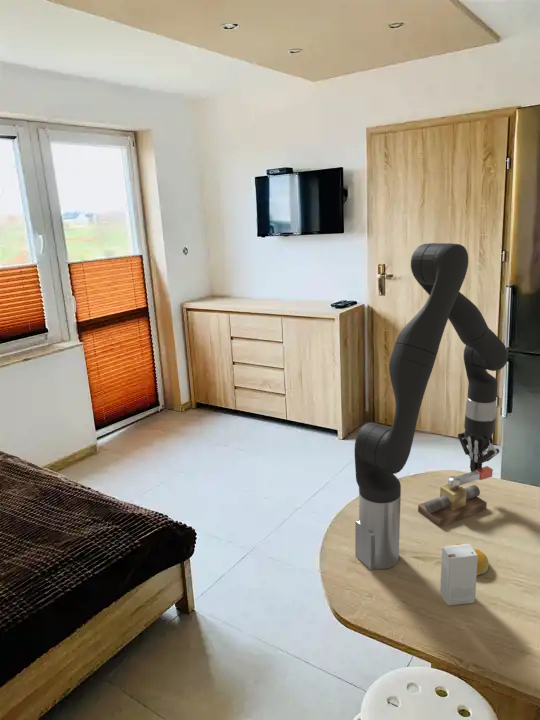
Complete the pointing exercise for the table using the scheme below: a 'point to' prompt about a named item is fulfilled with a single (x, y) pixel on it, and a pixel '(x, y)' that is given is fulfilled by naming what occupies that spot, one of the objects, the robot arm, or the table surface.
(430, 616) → the table surface
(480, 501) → the valve board
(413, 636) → the table surface
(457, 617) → the table surface
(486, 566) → the bread roll
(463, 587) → the skincare box
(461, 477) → the valve lever
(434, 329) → the robot arm
